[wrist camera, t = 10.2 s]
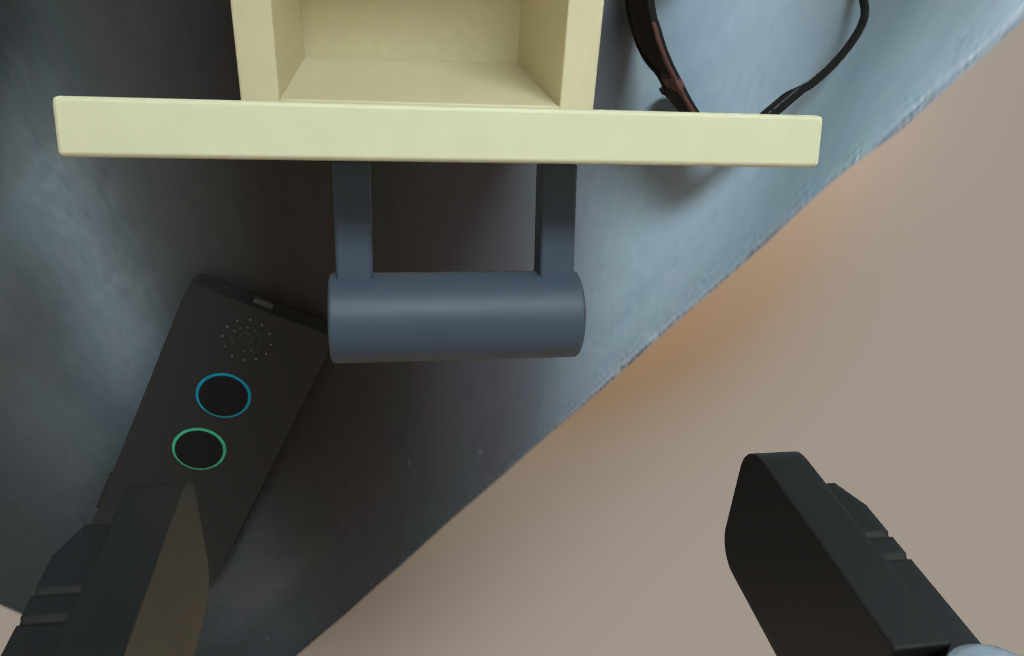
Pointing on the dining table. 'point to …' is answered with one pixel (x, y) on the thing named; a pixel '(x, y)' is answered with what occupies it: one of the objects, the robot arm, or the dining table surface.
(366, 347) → the lid
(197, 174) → the dining table surface
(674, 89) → the sunglasses
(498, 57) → the foam box
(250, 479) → the smart home device
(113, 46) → the dining table surface
